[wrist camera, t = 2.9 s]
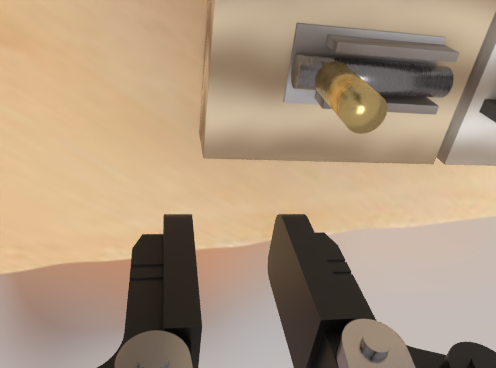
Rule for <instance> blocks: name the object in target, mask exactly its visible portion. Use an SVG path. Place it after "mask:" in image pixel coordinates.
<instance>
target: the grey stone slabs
mask: <svg viewBox="0 0 496 368" xmlns="http://www.w3.org/2000/svg"><path fill="white" fill-rule="evenodd" d="M296 55H309V56H321V57H334V58H347V59H360V60H372V61H385V62H398V63H411V64H423V65H436V66H448V67H450V68H451V70H452V72H453V76H454V80H453V86H452V88H451V90H450V92H449V93H448V95H447V96H445V97H443V98H435V97H418V96H402V95H385V94H380V95H381V96H382V97H383V98H384V99H385V101H386V103H387V114H386V117H385V119H384V121H383V122H382V123H381V125H380V126H379V127H377V128H376V129H375V130H373V131H371V132H369V133H365V134H357V133H354V132H352V131H350V130H349V129H348V128H347V126H346V125H345V124H344V123H343V122H342V120H341V119H340V118H339V117H338V116H337V114H336V113H335V112H334V111H333V110H332V108H331V107H330V106H329V105H328V104H327V102H326V101H325V100H324V99H323V98H322V96H321V95H320V94H319V93H318V92H317V90H304V89H294V88H293V87H292V83H291V69H292V64H293V60H294V58H295V56H296ZM200 140H201V146H202V153H203V158H209V159H249V160H288V161H328V162H368V163H408V164H434V161H435V159H436V157H437V158H438V159H439V160H440V161H441V162H443V163H444V164H447V165H487V166H496V0H208V11H207V26H206V41H205V56H204V72H203V87H202V102H201V118H200Z"/></svg>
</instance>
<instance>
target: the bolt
mask: <svg viewBox="0 0 496 368" xmlns="http://www.w3.org/2000/svg"><path fill="white" fill-rule="evenodd" d="M453 80H454V76H453V72H452V70H451V68H450V67H448V66H436V65H423V64H411V63H398V62H385V61H372V60H360V59H347V58H334V57H321V56H309V55H296V56H295V58H294V60H293V64H292V69H291V83H292V87H293V88H294V89H304V90H317V92H318V93H319V94H320V95H321V96H322V98H323V99H324V100H325V101H326V102H327V104H328V105H329V106H330V107H331V108H332V110H333V111H334V112H335V113H336V114H337V116H338V117H339V118H340V119H341V120H342V122H343V123H344V124H345V125H346V126H347V128H348V129H349V130H350V131H352V132H354V133H357V134H365V133H369V132H371V131H373V130H375V129H376V128H377V127H379V126H380V125H381V123H382V122H383V121H384V119H385V117H386V114H387V103H386V101H385V99H384V98H383V97H382V96H381V95H380V94H385V95H402V96H418V97H435V98H443V97H445V96H447V95H448V93H449V92H450V90H451V88H452V86H453Z"/></svg>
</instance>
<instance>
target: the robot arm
mask: <svg viewBox="0 0 496 368" xmlns="http://www.w3.org/2000/svg"><path fill="white" fill-rule="evenodd" d="M268 275H269V280H270V284H271V287H272V291H273V294H274V298H275V302H276V305H277V309H278V312H279V316H280V319H281V323H282V326H283V330H284V333H285V337H286V341H287V344H288V348H289V351H290V355H291V359H292V362H293V366H294V368H496V352H494V351H493V350H490V349H489V348H487V347H485V346H483V345H480V344H477V343H473V342H460V343H457V344H455V345H453V346H452V348H451V349H450V351H449V352H448V354H447V355H443V354H439V353H434V352H430V351H426V350H421V349H416V348H413V347H410V346H407V345H406V344H405V343H404V341H403V340H402V338H401V337H400V336H399V335H398V334H397V333H396V332H395V331H394V330H393V329H391V328H390V327H388V326H387V325H385V324H383V323H381V322H378V321H376V319H375V317H374V315H373V313H372V311H371V309H370V307H369V305H368V303H367V301H366V299H365V298H364V296H363V294H362V292H361V290H360V288H359V286H358V284H357V282H356V280H355V278H354V276H353V275H351V270H350V268H349V266H348V264H347V262H345V259H344V257H343V255H342V253H341V251H340V249H339V247H338V245H337V244H336V243H335V242H334V241H333V240H331V239H330V238H329V237H328V236H327V235H326V234H325V233H314V231H313V228H312V226H311V224H310V222H309V220H308V218H307V216H306V215H305V214H279V215H277V217H276V220H275V225H274V230H273V235H272V240H271V245H270V251H269V256H268ZM201 332H202V321H201V311H200V299H199V287H198V277H197V266H196V255H195V242H194V231H193V220H192V214H164V229H163V234H142V236H141V237H140V239H139V240H138V241H137V243H136V244H135V246H134V247H133V248H132V259H131V269H130V282H129V291H128V301H127V312H126V322H125V333H124V338H123V341H122V344H121V345H120V347H119V349H118V350H117V352H116V353H115V354H114V355H113V356H112V357H111V358H110V359H109V360H108V361H107V362H105V363H104V364H103V365H101V366H99V367H98V368H198V363H199V353H200V342H201Z"/></svg>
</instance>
